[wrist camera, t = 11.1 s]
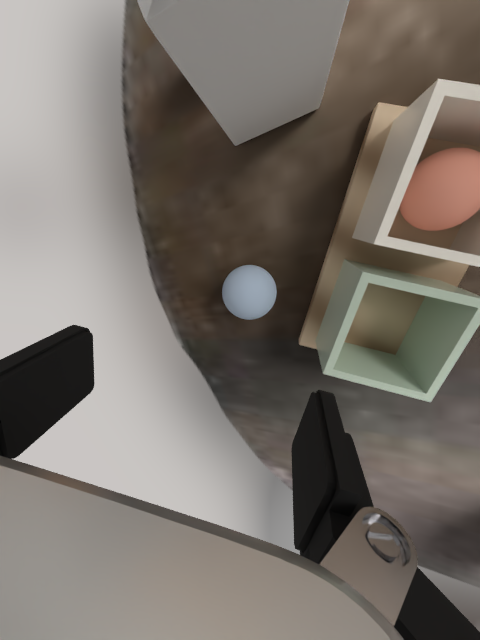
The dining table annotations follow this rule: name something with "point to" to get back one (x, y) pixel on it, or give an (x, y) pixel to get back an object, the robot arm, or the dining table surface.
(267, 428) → the dining table surface
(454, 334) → the sage cup
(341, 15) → the milk carton
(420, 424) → the dining table surface
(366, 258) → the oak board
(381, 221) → the cream cup
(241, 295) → the slate ball
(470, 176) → the coral ball
